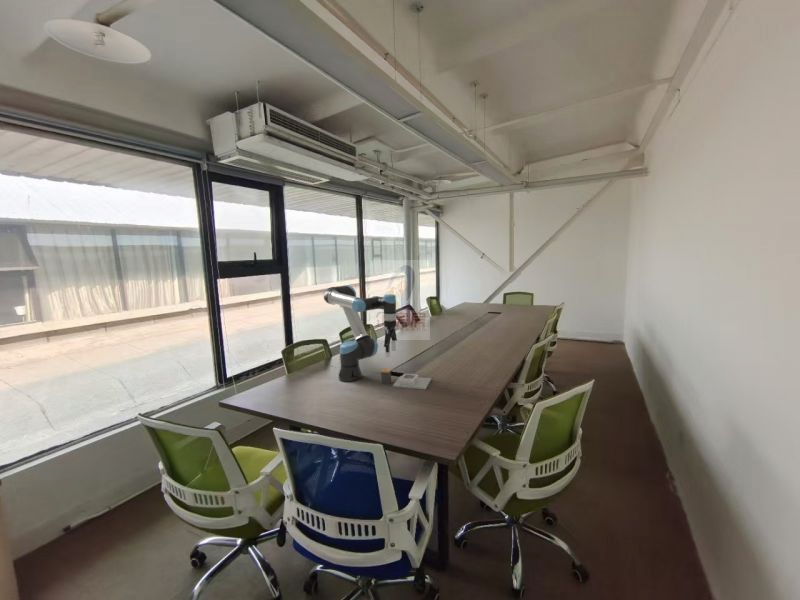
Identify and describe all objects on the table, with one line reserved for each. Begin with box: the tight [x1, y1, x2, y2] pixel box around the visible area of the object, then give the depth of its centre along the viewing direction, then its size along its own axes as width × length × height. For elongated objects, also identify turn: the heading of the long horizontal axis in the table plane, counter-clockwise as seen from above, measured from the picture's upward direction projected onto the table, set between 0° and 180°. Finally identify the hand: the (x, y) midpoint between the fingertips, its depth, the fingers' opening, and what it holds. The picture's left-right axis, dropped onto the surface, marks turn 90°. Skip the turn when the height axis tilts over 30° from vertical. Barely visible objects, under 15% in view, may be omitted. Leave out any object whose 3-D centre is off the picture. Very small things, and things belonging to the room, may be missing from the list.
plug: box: [380, 368, 392, 385], centre depth 206 cm, size 5×4×8 cm
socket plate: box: [392, 373, 432, 390], centre depth 203 cm, size 20×16×4 cm
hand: (390, 353), depth 206 cm, fingers open, 13 cm apart
